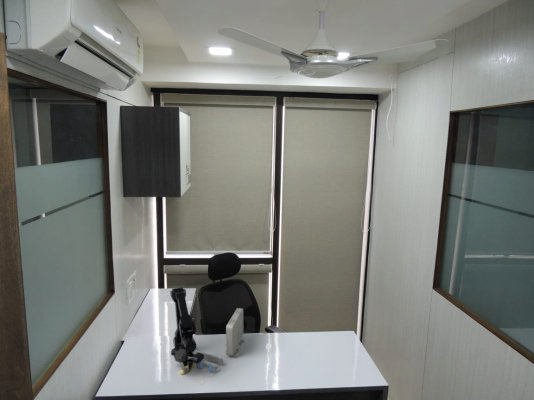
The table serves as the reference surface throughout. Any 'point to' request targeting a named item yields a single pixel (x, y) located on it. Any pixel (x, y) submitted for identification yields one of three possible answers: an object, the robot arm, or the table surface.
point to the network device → (234, 333)
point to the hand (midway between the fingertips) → (187, 368)
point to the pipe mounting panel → (203, 368)
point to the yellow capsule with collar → (185, 369)
